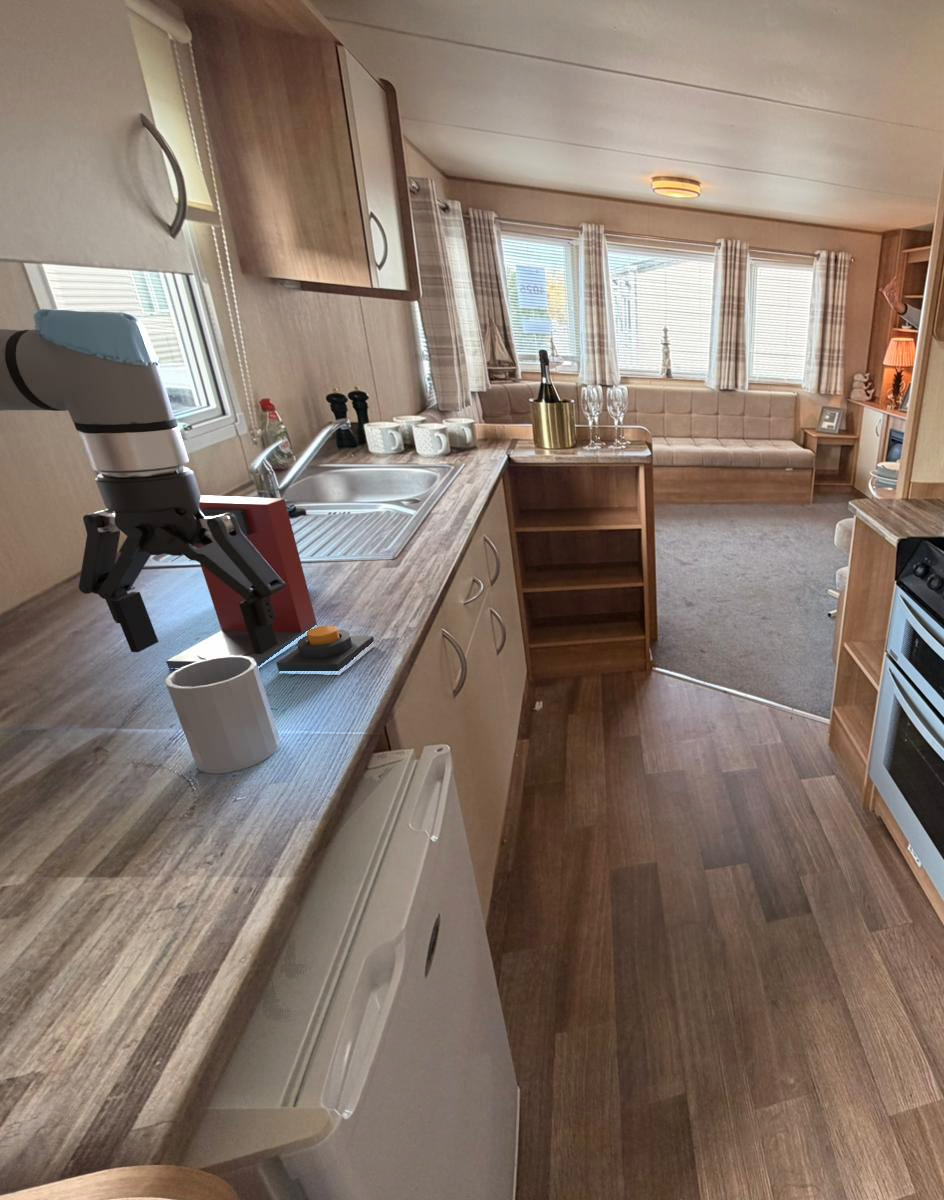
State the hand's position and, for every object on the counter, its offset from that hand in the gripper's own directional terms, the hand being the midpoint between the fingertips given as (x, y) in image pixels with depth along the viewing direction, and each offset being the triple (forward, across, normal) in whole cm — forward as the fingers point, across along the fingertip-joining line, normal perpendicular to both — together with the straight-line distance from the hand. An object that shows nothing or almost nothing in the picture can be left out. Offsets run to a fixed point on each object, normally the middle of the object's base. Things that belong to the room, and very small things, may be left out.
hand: (206, 648), depth 75 cm
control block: (+15, +4, -25) cm, 29 cm away
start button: (+11, +4, -25) cm, 28 cm away
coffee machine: (+15, +19, -29) cm, 38 cm away
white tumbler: (+15, 0, 0) cm, 15 cm away
